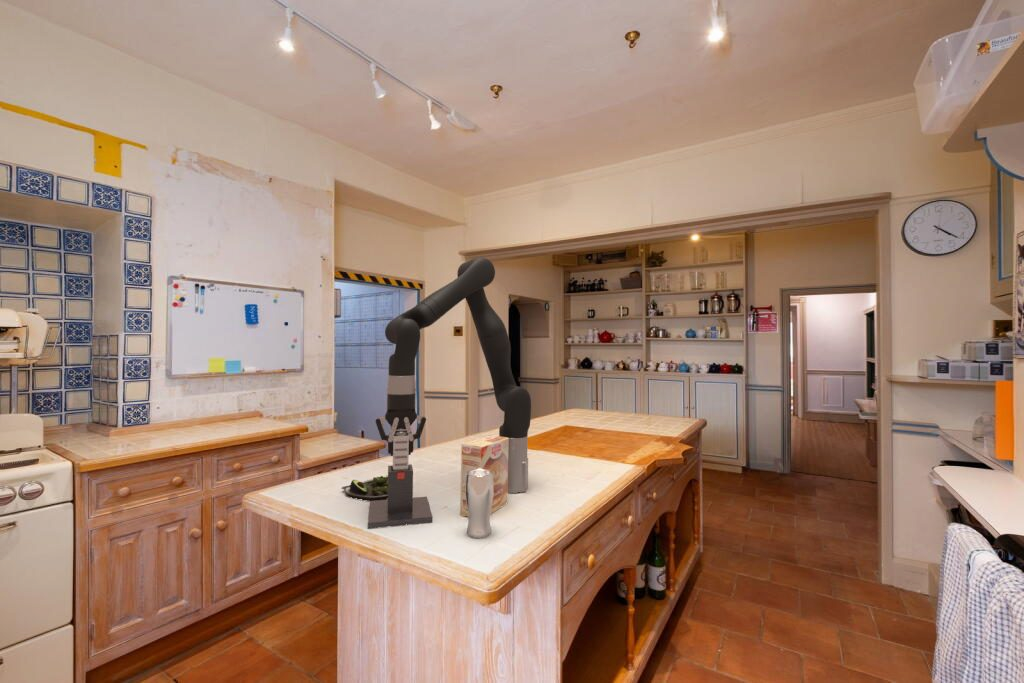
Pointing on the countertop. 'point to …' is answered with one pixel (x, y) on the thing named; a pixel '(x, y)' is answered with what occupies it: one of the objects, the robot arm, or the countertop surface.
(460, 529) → the countertop surface
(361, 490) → the salad plate
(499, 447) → the coffeecake box
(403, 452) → the column
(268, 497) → the countertop surface
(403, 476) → the stand
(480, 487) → the beer glass
